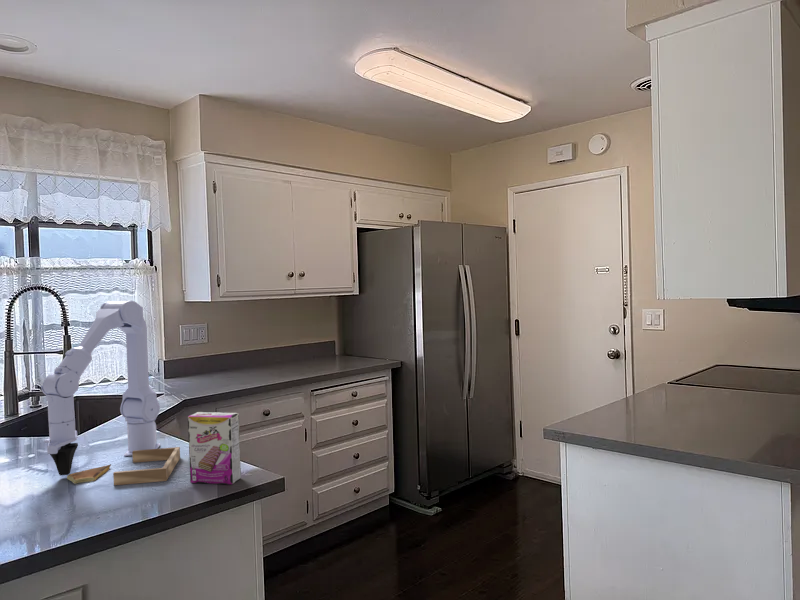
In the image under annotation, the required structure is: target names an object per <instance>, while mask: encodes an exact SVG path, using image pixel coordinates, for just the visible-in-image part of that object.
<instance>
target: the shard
mask: <svg viewBox="0 0 800 600" xmlns="http://www.w3.org/2000/svg"><path fill="white" fill-rule="evenodd" d="M111 466H112V463H111V464H110V463H109V464H108V465H107V464H106V465H103V466H99V467H93V468H91V469H90V468H89V469H85V470H81V471H76V472H73V473H70V474H68V475H66V478H67V479H66V480H68V481H70V482H72V483H73V484H74V485H76V484H80V483H85V482H87V483H88V482H95V481H96V480H97V479H98V478H99V477H101V476H102V475H104V474H105V473H107V472H108V471H110V467H111Z"/></svg>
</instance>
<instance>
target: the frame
mask: <svg viewBox="0 0 800 600" xmlns="http://www.w3.org/2000/svg"><path fill="white" fill-rule="evenodd" d="M180 449H181V448H180V446H175V447H163V448H160V447H159V448H158V449H148V450H135V451H133V452H132V454H133V455H132V463H143V462H144V463H147V462H158V461H165V462H164V465H163V467H156V468H145V469H133V470H132V469H131V470H121V471H120V470H119V471H113V473H112V474H113V475H112V476H113V477H112V478H113V486H123V485H134V484H144V483H145V484H146V483H155V482H156V483H157V482H167V480H168V479H169V478H170V476H171V474H172V472H173V471H174V469H175V467H176V465H177V464H178V462H179V461H180V459H181V450H180Z"/></svg>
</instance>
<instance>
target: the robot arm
mask: <svg viewBox="0 0 800 600" xmlns="http://www.w3.org/2000/svg"><path fill="white" fill-rule="evenodd" d="M95 312H96V313H95V314H96V315H95V318H94V320H93V322H92V324H91V325H90V327H89V329H88V330H87V332H86V334H85V335H84V337H83V338H82V340H81V341H80V343H79V345H78V346H75V347H72V348H70V349H69V350H67V351H66V352H65V353H64V355H65V357H64V358H63V359H62V361H61V362H60V363H59V364H58V366H57V367H55V368H54V370H53V371H54V372H53V373H52V372H51V373H50V374H48V375H47V376H46V377H45V378H44V380H43V381H42V382H43V383H42V385H40V389H41V392H42V394H44V395H45V398H46V399H45V400H46V402H47V418H48V419H47V420H48V432H49V433H48V435H49V437H48V438H46V439H44V440H43V441H44V444H48V445H47V447H46V451H47V455H50V457H51V458H52V459H53V461H54V464H55V466H56V468H57V469H56V470H57V472H58V475H59V476H68V475H69V474H71V470H72V466H73V460H74V456H75V453H76V450H77V449H78V446H79V444H78V442H76V441H77V440H78V430H76V418H75V417H76V416H75V415H76V414H75V400H74V399H75V398H74V396H75V393H76V392H77V391H78V389H79V387H80V380H81V376H82V375H83V373H84V372H85V371H86V369H87V367H88V366H89V365H90V363H91V362H92V361H93V356H92V352H93V351H94V350H95V348H97V346H98V345H99V343H100V342H101V341H102V340H103V339H104V337H105V336H106V335H107V333H108V332H110V330H113V329H117V328H118V329H120V331H122V332H123V333H124V334H125V341H126V342H125V343H126V344H125V345H126V364H127V365H126V367H127V369H126V370H127V389H126V390H125V391H124V392H123V393H122V400H121V404H120V407H119V411H120V412H119V413H120V414H121V416H122V417H123V418H124V419H125V422H126V430H127V434H126V435H127V449H128V450H126V451H125V453H124V454H123V457H126V456H128V457H131V456H133V454H132V452H133V451H135V450H148V449H159V448H160V446H161V443H160V442H159V443H158V441H157V435H158V434H157V423H156V420H157V417H158V416H159V413H160V410H161V407H160V406H161V405H160V402H159V401H158V397H157V392H156V391H154V390H153V389H152V388H151V387H150V381H149V379H150V378H149V377H150V375H149V351H148V347H149V346H148V326H147V322H146V320H145V318H144V308H143V306H141V305H140V304H139V303H138V302H137V301H134V300H127V301H126V300H115V301H114V300H107V301H105V302H103V303H102V304H101V306H100V308H99V309H97V311H95Z"/></svg>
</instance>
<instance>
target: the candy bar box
mask: <svg viewBox="0 0 800 600" xmlns="http://www.w3.org/2000/svg"><path fill="white" fill-rule="evenodd" d="M239 415H240V413H239V412H219V411H217V412H215V411H214V412H213V411H211V412H210V411H196V412H195V413H191V414H190V415H188V416H187V427H188V428H187V429H188V431H187V433H188V448H189V449H188V451H189V453H188V454H189V455H188V456H189V457H188V458H189V480H190V481H189V482H190V483H191V484H211V485H212V484H213V485H234V484H235V483H236V482H237V481H239V480H240V479H241V478H242V471H241V469H242V468H241V444H240V442H241V441H240V417H239Z"/></svg>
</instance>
